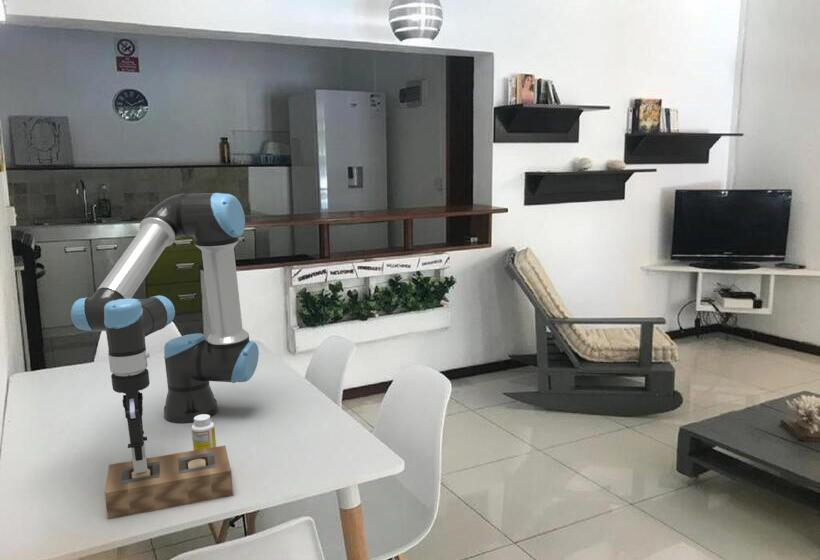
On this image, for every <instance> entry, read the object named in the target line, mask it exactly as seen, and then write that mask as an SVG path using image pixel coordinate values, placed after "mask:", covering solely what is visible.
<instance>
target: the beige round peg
mask: <svg viewBox="0 0 820 560" xmlns="http://www.w3.org/2000/svg"><path fill="white" fill-rule="evenodd" d="M145 476H150V470H149V469H148V468H147V472H142V473H136V474H134V471H133V472H132V479H134V478H139V477H145Z"/></svg>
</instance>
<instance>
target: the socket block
mask: <svg viewBox="0 0 820 560" xmlns="http://www.w3.org/2000/svg"><path fill="white" fill-rule="evenodd" d="M194 459H204V460H205V463H206V466H203V467H197V468H191V469H188V463H189V462H190V461H192V460H194ZM146 461H147V468H148V469H149V470H150V476H145V477H139V478H134V479H132V472H133V471H134V467H133V460H129V461H123V462H116V463H111V464H108V467H107V468H108V470H107V476H106V481H105V490H104V499H105V508H106V517H107V520H111V519H115V518H121V517H125V516H131V515H136V514H137V515H138V514H141V513H142V514H143V513H147V512H152V511H158V510H163V509H168V508H174V507H179V506H184V505H188V504H189V505H190V504H194V503H195V504H196V503H199V502H200V503H201V502H206V501H210V500H215V499H216V500H217V499H220V498H226V497H230V496H231V497H232V496H234V491H233V479H232V469H231V463H230V461H229V456H228V451H227V447H226V445H219V446H216V447H213V448H207V449H201V450H195V451H194V450H188V451H184V452H179V453H171V454H166V455H159V456H154V457H153V456H152V457H148V458H147V457H146Z"/></svg>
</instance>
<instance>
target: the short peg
mask: <svg viewBox="0 0 820 560" xmlns="http://www.w3.org/2000/svg"><path fill="white" fill-rule="evenodd" d="M203 466H206V463H205V460H204V459H194V460H192V461H190V462H189V463H188V469H191V468H197V467H203Z"/></svg>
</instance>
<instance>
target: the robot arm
mask: <svg viewBox="0 0 820 560" xmlns="http://www.w3.org/2000/svg"><path fill="white" fill-rule="evenodd" d="M245 225H246V217H245V212H244V208H243V205H242V204H241V202H240V201H239V199H238V198H237V197H236V196H234V195H233V194H230V193H222V192H211V193H209V192H207V193H205V192H203V193H201V192H200V193H177V194H175V195H172V196H170V197H168V198H166V199H164V200H163V201H160V203H158V204H156V205H155V206H154V207H153V208H152V209H151V210H149V212H148V213H147V214H146V215H145V216H144V217H143V219H142V220H141V222H140V223H139V227H138V228H139V231H138V233H137V234H136V236H134V239H132V241H131V242H130V244H129V245H128V247H127V248H126V249H125V250H124V252H123V254H122V255H121V256H120V257H119V259H118V260H117V262H116V263H115V264H114V266H113V267H112V269H111V270H110V272H109V273H108V274H107V276H106V277H105V278H104V280H103V281H102V282H101V283H100V285H99V286H98V288H97V289H96V291H95V292H94V293H93V295H92V296H91V297H88V296H86V297H82V298H81V297H80V298H78V299H77V300H75V301H74V303H73V304H72V306H71V309H70V319H71V323H72V324H73V325H74V327H75V328H77V330H78V329H79V330H82V331H92V332H105V333H106V341H107V347H108V353H107V354H108V363H109V370H110V372H111V373H112V374H110V375H111V376H110V377H111V385H112V386H111V387H112V390H113V392H116V393H118V394H122V393H123V395H122V407H123V408H124V415H125V419H126V422H127V427H128V428H127V429H128V435H129V443H128V444H127V448H128V449H131V455H132V456H131V457H132V461H133V467H134V474H136V473H142V472H147V461H146V458H147V453H146V444H145V442H146V441H148V436H144V434H145V431H144V428H143V427H144V426H143V425H144V424H143V415H144V414H143V411H144V410H143V409H144V406H143V399H144V396H143V392H141V391H143V390H145V389H147V388H148V387H149V385H150V384H151V383H150V375H149V369H148V367H149V366H148V358H150V357H151V355H150V353H149V352H148V353H147V348H146V347H147V346H146V337H148V336H150V335H152V334H153V333H155V332H158V331H160V330H162V329H165V328H166V327H167V326H168V325H170V324H171V323H172V322H173V320H174V319H175V315H176V310H175V306H174V304H173V302H172V301H171V300H170V299H169V298H168V297H166V296H164V295H155V296H150V297H148V298H145V299H144V298H133V297H134V295H135V293H136V292H137V291H138V289H139V288H140V286H141V284H142V283H143V282H144V280H145V278H146V277H147V276H148V274H149V273H150V271H151V269H152V268H153V267H154V265H155V263H156V262H157V260H158V259H159V258H160V256H161V254H162V253H163V252H164V250H165V248H167V247H170V246H172V245H173V244H174V242H175V241H176V240H177V239H179V238H182V237H183V238H184V237H189V238H191V237H192V238H193V239H194V241H193V242H194V246H195V247H197V248H198V249H199V250H200V251H201V256H202V257H201V258H202V265H203V272H204V273H203V274H204V282H205V283H204V284H205V289H206V291H205V292H206V299H207V305H208V306H207V307H208V314H209V322H210V331H211V332H210V334H209V335H208V336H207V337H206V335H205V333H190V334H185V335H181V336H176V337H174V338H172V339H170V340H168V341H167V342H166V343H165V344H164V347H163V348H164V349H163V350H164V352H163V353H164V354H163V359H164V364H165V373H166V381H167V382H166V383H167V394H166V397H165V398H166V399H165V405H164V406H163V407H164V408H163V415H164V416H163V417H164V419H165V420H166V421H168V422H172V423H175V424H176V423H177V424H185V423H194V417H195V416H197V415H201V414H207V415H210V418H211V417H213V416H214V415H216V414H217V412H218V410H219V408H218V402H217V399H216V398H215V395H214V393H213V390H212V388H211V384H210V382H217V383H218V382H222V383H232V384H235V383H247V382H248V381H250V380H251V379H252V378H253V376H254V374H255V372H256V369H257V367H258V362H259V355H260V352H259V351H260V350H259V347H258V344H257V343H256V342H254V341H252V340H251V341H250V334H249V332H248V331H246V330H245V329H244V328H243V320H242V312H241V303H240V302H241V301H240V293H239V284H238V274H237V265H236V257H235V256H236V255H235V247H236V246H237V244H238V243H239V242H240V240H239V237H241V236H242V235H243V234H244V232H245V227H246V226H245Z"/></svg>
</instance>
